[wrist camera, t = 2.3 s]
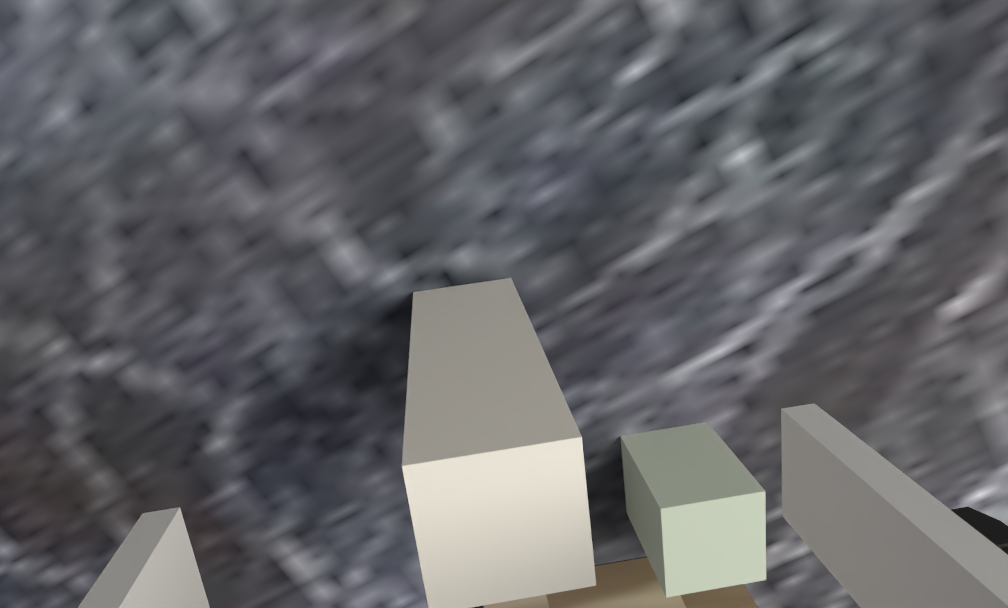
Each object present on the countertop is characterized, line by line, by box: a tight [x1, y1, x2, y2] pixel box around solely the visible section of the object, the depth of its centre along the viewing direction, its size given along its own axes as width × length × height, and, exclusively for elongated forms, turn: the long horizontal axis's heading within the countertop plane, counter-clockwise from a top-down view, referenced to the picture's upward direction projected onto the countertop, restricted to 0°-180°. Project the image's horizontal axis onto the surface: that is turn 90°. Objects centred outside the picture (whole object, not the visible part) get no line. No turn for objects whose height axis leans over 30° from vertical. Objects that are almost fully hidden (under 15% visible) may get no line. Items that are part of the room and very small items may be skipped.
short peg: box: [621, 422, 766, 598], centre depth 26 cm, size 4×4×5 cm
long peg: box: [402, 278, 596, 608], centre depth 20 cm, size 4×4×12 cm
